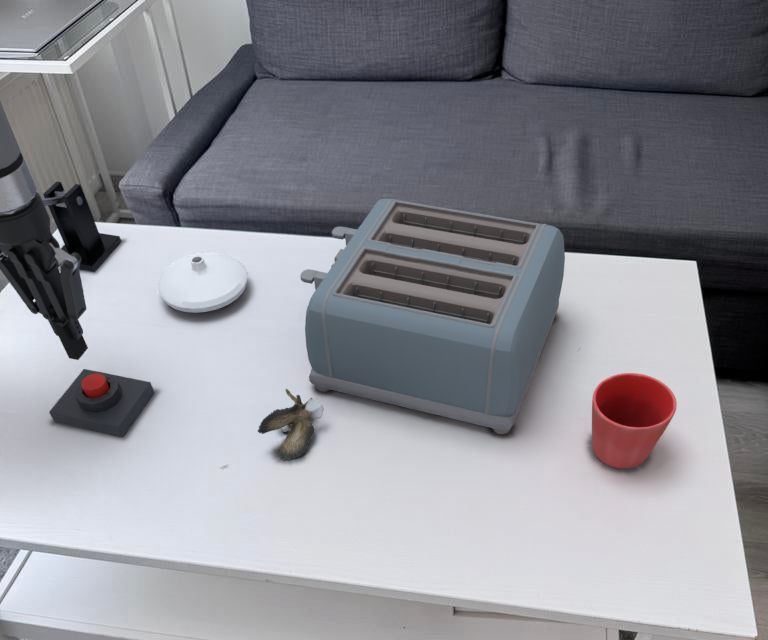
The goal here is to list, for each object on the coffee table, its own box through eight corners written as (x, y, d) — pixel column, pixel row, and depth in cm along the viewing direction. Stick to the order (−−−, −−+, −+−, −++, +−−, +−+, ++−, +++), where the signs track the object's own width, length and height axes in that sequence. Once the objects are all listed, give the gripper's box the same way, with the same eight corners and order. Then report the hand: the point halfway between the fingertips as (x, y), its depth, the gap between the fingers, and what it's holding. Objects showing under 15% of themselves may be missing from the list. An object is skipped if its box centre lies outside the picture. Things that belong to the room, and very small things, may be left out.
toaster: (361, 274, 134) (354, 181, 120) (559, 312, 125) (576, 217, 111) (288, 386, 117) (270, 294, 103) (511, 440, 108) (524, 347, 94)
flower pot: (567, 433, 108) (578, 383, 101) (635, 414, 110) (651, 364, 102) (602, 486, 102) (616, 437, 95) (673, 465, 104) (693, 416, 96)
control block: (54, 422, 114) (43, 403, 111) (88, 379, 120) (79, 359, 117) (123, 437, 112) (114, 418, 109) (154, 392, 117) (147, 373, 114)
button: (80, 396, 112) (76, 387, 111) (93, 380, 114) (89, 371, 113) (101, 400, 112) (97, 391, 110) (113, 384, 114) (109, 375, 112)
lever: (33, 216, 123) (30, 200, 122) (7, 212, 124) (5, 196, 123) (83, 206, 134) (81, 192, 133) (59, 203, 135) (57, 189, 134)
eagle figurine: (274, 404, 113) (247, 438, 107) (295, 375, 108) (268, 408, 102) (314, 435, 114) (290, 470, 108) (337, 408, 109) (313, 443, 103)
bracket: (94, 271, 138) (68, 207, 128) (52, 264, 140) (23, 201, 130) (121, 241, 144) (98, 177, 133) (81, 235, 146) (55, 171, 135)
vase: (151, 284, 135) (139, 250, 129) (233, 258, 139) (225, 223, 133) (177, 333, 126) (165, 299, 120) (264, 304, 130) (256, 269, 124)
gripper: (71, 190, 89) (131, 344, 108) (-21, 177, 92) (54, 329, 111) (35, 225, 85) (104, 378, 104) (-59, 209, 88) (25, 362, 107)
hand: (78, 352), depth 108 cm, fingers closed
